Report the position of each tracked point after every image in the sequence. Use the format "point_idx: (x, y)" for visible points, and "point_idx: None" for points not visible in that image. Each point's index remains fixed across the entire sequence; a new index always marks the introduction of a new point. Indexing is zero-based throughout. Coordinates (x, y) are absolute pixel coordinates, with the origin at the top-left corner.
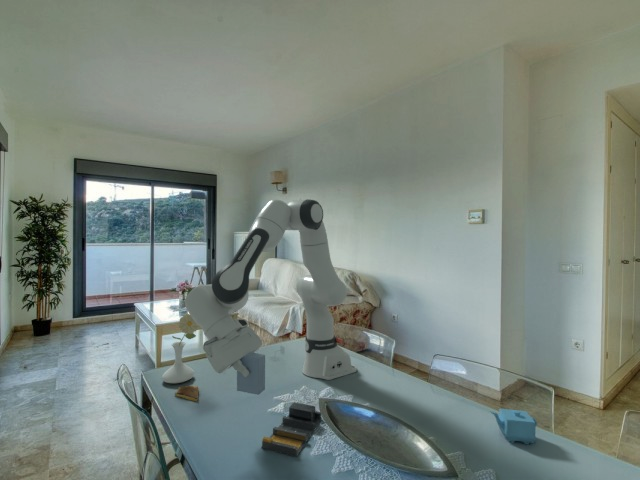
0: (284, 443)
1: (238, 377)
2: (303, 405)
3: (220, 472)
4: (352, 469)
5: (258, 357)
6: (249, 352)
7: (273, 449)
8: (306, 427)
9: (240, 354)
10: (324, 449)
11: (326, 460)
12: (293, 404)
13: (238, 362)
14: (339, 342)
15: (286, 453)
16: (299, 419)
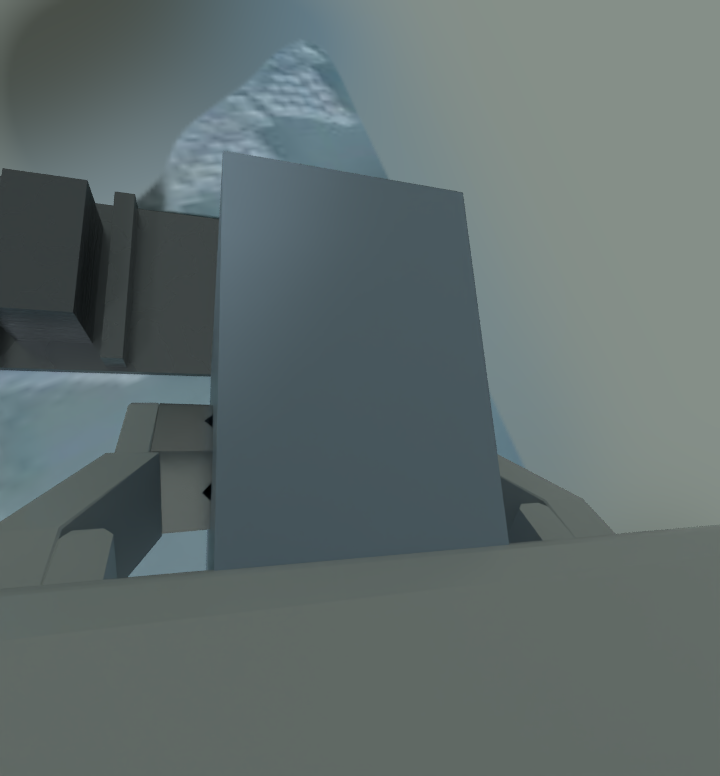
0: None
1: None
2: (14, 236)
3: (507, 450)
4: (316, 69)
5: (419, 220)
6: (230, 563)
7: None
8: (135, 239)
9: (589, 585)
10: (251, 155)
11: (307, 143)
12: (17, 299)
13: (599, 527)
14: None
15: None
16: (109, 266)
